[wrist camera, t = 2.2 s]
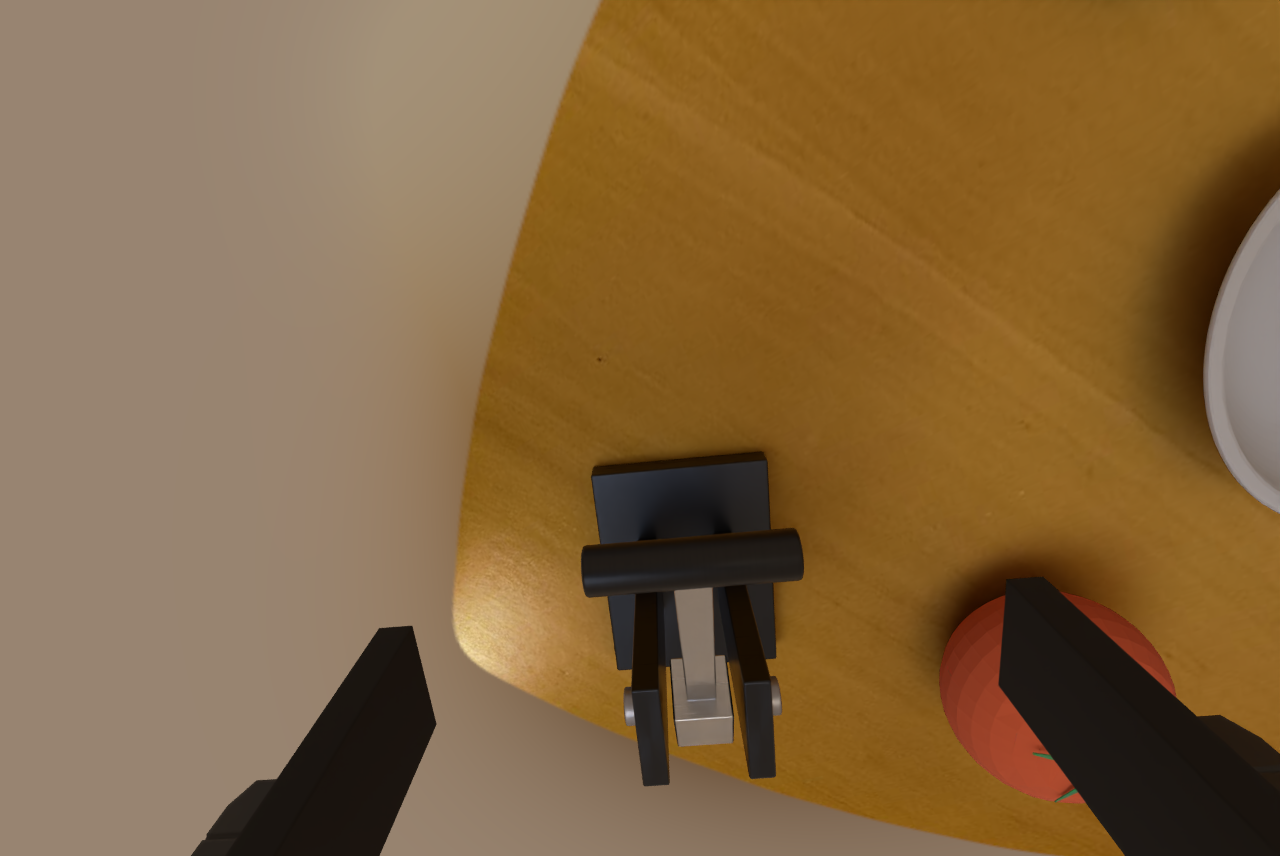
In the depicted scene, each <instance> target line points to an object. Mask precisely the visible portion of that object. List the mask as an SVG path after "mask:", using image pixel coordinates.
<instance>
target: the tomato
mask: <svg viewBox="0 0 1280 856" xmlns="http://www.w3.org/2000/svg"><path fill="white" fill-rule="evenodd" d="M1061 593H1062V594H1063V595H1064V596H1065V597H1066V598H1067V599H1068V600H1069V601H1070V602H1072V603H1073V604H1074V605H1075V606H1076V607H1077V608H1078V609H1079V610H1080V611H1081V612H1083V613H1084V614H1085V615H1086V616H1087V617H1088V618H1089V619H1090V620H1091V621H1092V622H1094V623H1095V624H1096V625H1097V626H1098V627H1099V628H1100V629H1101V630H1102V631H1103V632H1105V633H1106V634H1107V635H1108V636H1109V637H1110V638H1111V639H1112V640H1113V641H1114V642H1116V643H1117V644H1118V645H1119V646H1120V647H1121V648H1122V649H1123V650H1124V651H1125V652H1127V653H1128V654H1129V655H1130V656H1131V657H1132V658H1133V659H1134V660H1135V661H1136V662H1138V663H1139V664H1140V665H1141V666H1142V667H1143V668H1144V669H1145V670H1146V671H1147V672H1149V673H1150V674H1151V675H1152V676H1153V677H1154V678H1155V679H1156V680H1157V681H1158V682H1160V683H1161V684H1162V685H1163V686H1164V687H1165V688H1166V689H1167V690H1168V691H1169V692H1171V693H1172V694H1173V695H1174V696H1175V697H1176V693H1175V688H1174V684H1173V682H1172V679H1171V676H1170V674H1169V671H1168V669H1167V668H1166V666H1165V664H1164V662H1163V660H1162V658H1161V656H1160V655H1159V654H1158V652H1157V651H1156V650H1155V648H1154V647H1153V646H1152V644H1151V643H1150V642H1149V641H1148V640H1147V639H1146V637H1145V636H1144V635H1143V634H1142V633H1141V632H1140V631H1139V630H1138V629H1137V628H1135V627H1134V626H1133V625H1132V624H1131V623H1129V622H1128V621H1127V620H1126V619H1124V618H1123V617H1121V616H1120V615H1118V614H1117V613H1115V612H1114V611H1112V610H1111V609H1109V608H1107V607H1105V606H1102V605H1100V604H1098V603H1096V602H1094V601H1091V600H1089V599H1086V598H1083V597H1080V596H1076V595H1072V594H1068V593H1065V592H1061ZM1004 606H1005V595H1004V596H1001V597H999V598H996V599H994V600H992V601H990V602H987V603H986V604H984V605H982V606H981V607H979V608H978V609H976V610H975V611H973V612H972V613H971V614H970V615H969V616H968V617H966V618H965V619H964V620H963V621H962V622H961V623H960V624H959V626H958V627H957V628H956V630H955V631H954V632H953V633H952V635H951V637H950V639H949V641H948V643H947V645H946V647H945V651H944V655H943V659H942V663H941V667H940V681H939V685H940V693H941V699H942V703H943V708H944V712H945V714H946V716H947V719H948V721H949V723H950V725H951V727H952V729H953V731H954V733H955V735H956V737H957V739H958V740H959V741H960V743H961V744H962V745H963V747H964V748H965V749H966V750H967V752H968V753H969V754H970V755H971V756H972V757H973V758H974V760H975V761H976V762H977V763H978V764H979V765H980V766H982V767H983V768H984V769H985V770H987V771H988V772H989V773H990V774H992V775H993V776H994V777H996V778H997V779H999V780H1000V781H1001V782H1003V783H1004V784H1006V785H1008V786H1011V787H1013V788H1015V789H1017V790H1019V791H1021V792H1023V793H1026V794H1028V795H1030V796H1032V797H1036V798H1040V799H1044V800H1048V801H1055V802H1065V803H1086V802H1085V801H1084V800H1083V798H1082V797H1081V796H1080V794H1079V793H1078V792H1077V790H1076V789H1075V788H1074V786H1073V785H1072V784H1071V782H1070V781H1069V780H1068V778H1067V777H1066V776H1065V774H1064V773H1063V772H1062V770H1061V769H1060V768H1059V766H1058V765H1057V763H1056V762H1055V761H1054V759H1053V758H1052V757H1051V755H1050V754H1049V753H1048V751H1047V750H1046V749H1045V747H1044V746H1043V745H1042V743H1041V742H1040V741H1039V739H1038V738H1037V737H1036V735H1035V734H1034V733H1033V731H1032V730H1031V729H1030V727H1029V726H1028V725H1027V723H1026V722H1025V721H1024V719H1023V718H1022V716H1021V715H1020V714H1019V712H1018V711H1017V710H1016V708H1015V707H1014V706H1013V704H1012V703H1011V702H1010V700H1009V699H1008V698H1007V696H1006V695H1005V694H1004V692H1003V691H1002V690H1001V688H1000V687H999V686H998V682H999V669H1000V656H1001V644H1002V631H1003V618H1004Z"/></svg>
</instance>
